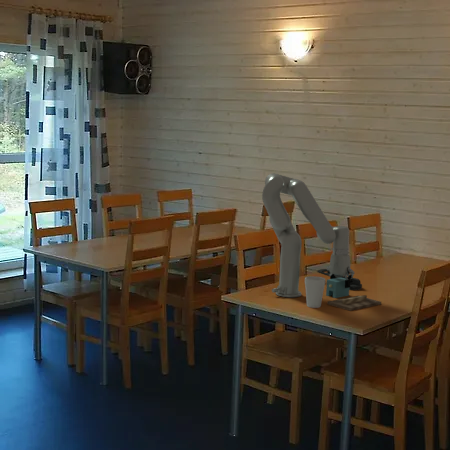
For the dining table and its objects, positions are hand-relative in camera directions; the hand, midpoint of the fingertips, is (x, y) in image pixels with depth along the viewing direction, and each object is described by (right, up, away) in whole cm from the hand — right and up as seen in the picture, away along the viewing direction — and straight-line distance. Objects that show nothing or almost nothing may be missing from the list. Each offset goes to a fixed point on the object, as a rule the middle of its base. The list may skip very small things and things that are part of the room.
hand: (339, 285), depth 351 cm
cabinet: (-1, -5, +1) cm, 5 cm away
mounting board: (+4, -7, -15) cm, 18 cm away
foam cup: (-16, -8, -21) cm, 27 cm away
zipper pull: (+3, -2, +23) cm, 23 cm away
